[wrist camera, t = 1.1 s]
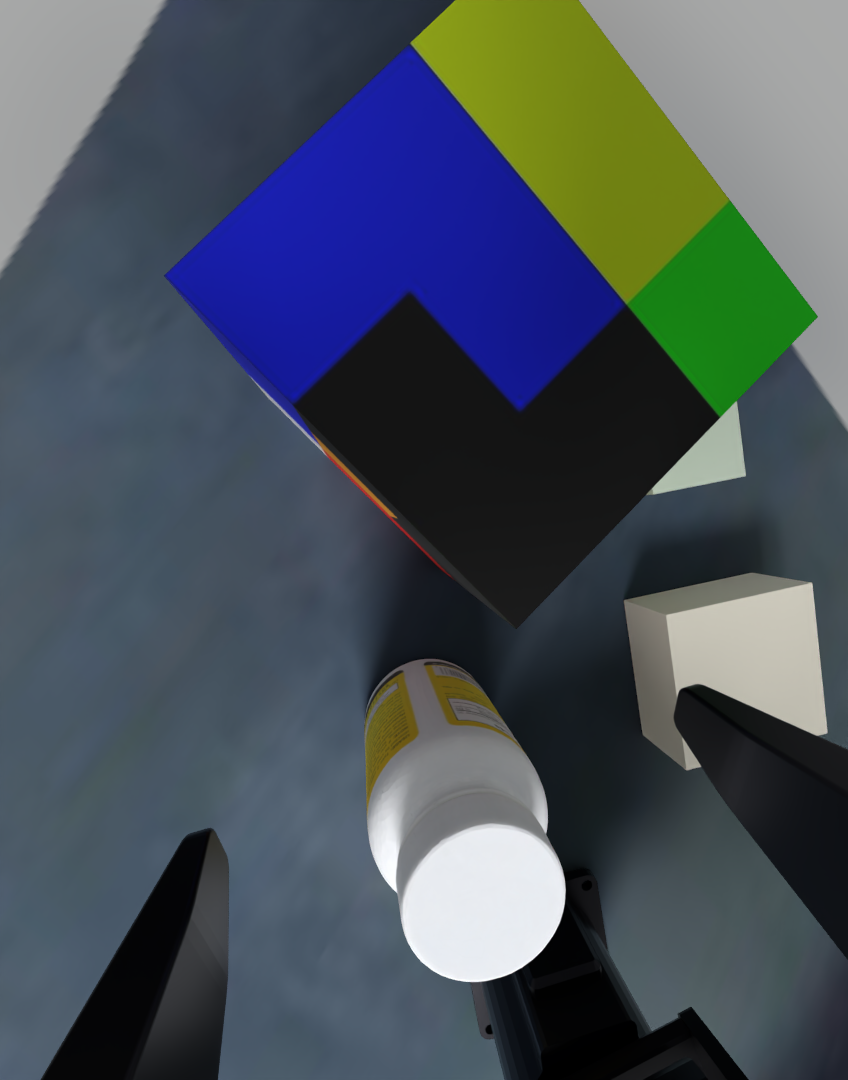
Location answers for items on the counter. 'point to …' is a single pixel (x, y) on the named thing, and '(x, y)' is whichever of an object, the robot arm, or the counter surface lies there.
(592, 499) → the puzzle toy
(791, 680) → the base brick
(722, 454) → the brick
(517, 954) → the supplement bottle
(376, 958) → the counter surface
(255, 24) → the counter surface
